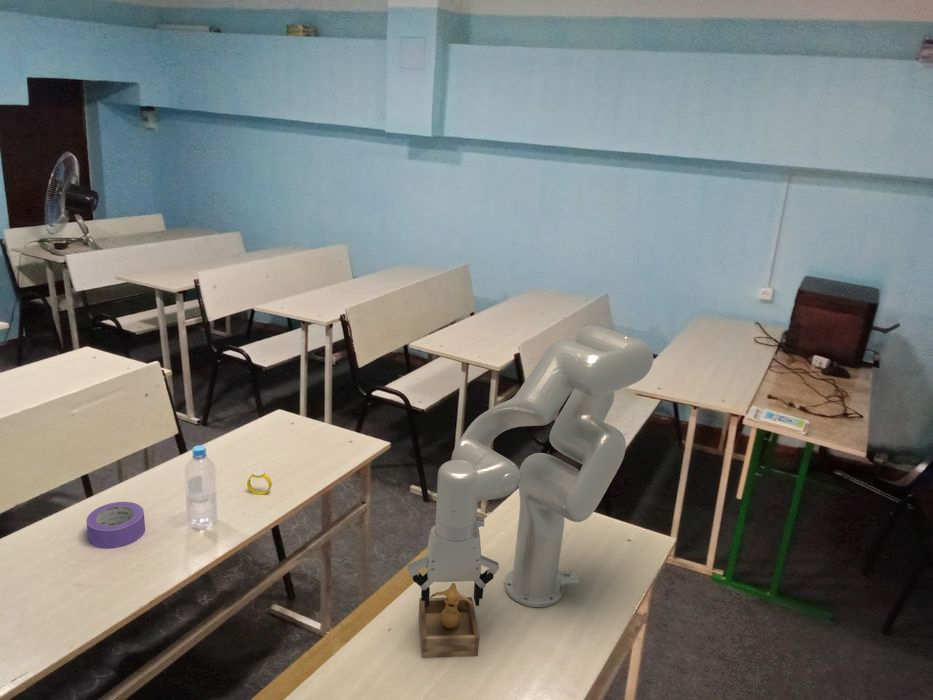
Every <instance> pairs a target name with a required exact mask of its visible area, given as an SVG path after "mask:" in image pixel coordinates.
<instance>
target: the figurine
mask: <svg viewBox="0 0 933 700" xmlns="http://www.w3.org/2000/svg"><path fill="white" fill-rule="evenodd" d="M436 596H445V597H444V598H445V603H446V605H445V609H444V610H443V611H442V613H441V615H440V620H441V623H442V625H443V626H444V627H446V628H448V629H452V628H455V627H456V626H458V624H459V623H460V619H461V616H460V613H459V611H458V610H457V605H458V604H459V601H458V600H456V598H458V597H459V598H461V599H463V600H466V601H467V602H469V603H470V604H472V606H473V605H474V602H473V603H472V602H471V601H470V600H469V599H468V598H466V597H467V596H465V595H462V593H460V592H459V591H458V590H457V585H456V584H455V582H452V583H451V585H450V586H449V588H447V589H446V590H443V591H436V592H434V593H432V594H431V595H430V597H429V598H430V599H431V598H435V597H436ZM449 603H450V604H454V605H455V606H454V607H449V605H448V604H449Z"/></svg>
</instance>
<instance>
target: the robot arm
mask: <svg viewBox="0 0 933 700" xmlns="http://www.w3.org/2000/svg"><path fill="white" fill-rule="evenodd" d="M653 362H654V352H653V350H652V349H651V347H650V345H648V343H646V342H645V341H643V340H641V339H638V338H636V337H631V336H628V335H626V334H623V333H620V332H618V331H615V330H612V329H609V328H606V327H602V326H597V325H586V326H584V327H582V328H581V329H580V330H579V331H578V333H577V334H576V338H575V341H572V340H569V339H560V340H556V341H554V342H552V343H551V344H550V345H549V347H548V348H547V350H546V351H545V352H544V354H543V355H542V357H540V359H539V360H538V362H537V364H536V365H535V367H534V368H533V369H532V370H531V372H530V374H529V375H528V377H527V378H526V379H525V381H524V382H523V383H522V385H521V387H520V388H519V390H518V391H517V392H516V394H515V395H514V396H513V397H511V398H510V399H508V400H505V401H504V402H501V403H498V404H497V405H495V406H493V407H491V408H489V409H488V410H486V411H484V412H483V413H481V414H480V415H479V416H477V417H476V418H475V419H474V420H473V421H472V422H471V423H470V425H469V426H467V428H466V430H465V431H464V433H463V435H461V437H460V438H459V440H458V442H457V444H456V445H455V447H454V449H453V451H452V453H451V459H450V460H448V461H446V462H444V463H443V464H441V465H440V467H439V468H438V469H439V470H438V473H437V484H436V485H437V487H436V488H437V489H436V507H435V509H436V510H435V511H436V512H435V524H434V525H433V526H432V527H431V529H430V532H429V536H428V543H427V548H426V549H427V550H426V556H424V557H421V558H420V559H418V560H415V561H413V562H410V563H409V564H407V572H408V573H409V575H410V577H411V578H412V580H413V582H414V583H415V584H417V586H419V587H420V589H421V594H420V598H421V601H425V607H429V598H430V597H431V595H430V594H431V591H430V586H431V585H433V584H434V583H446V582H447V583H451V582H452V583H455V582H457V583H458V582H474V584H473V599H474V600H473V601H474V604H475V606H476V607H478V606H480V600H483V597H484V589H485V587H486V586H487V584H488V583H489V582H490V581H492V580H493V579H494V576H495V575H496V574H497V572H498V571H499V570H500V565H499V562H498V561H495V560H493V559H491V558H489V557H487V556H484V555H482V547H481V535H480V533H481V532H480V529H479V528H481V527H485V519H484V518H479V517H478V504H479V502H483V501H488V500H489V501H490V500H497V499H501V498H505V497H507V496H509V495H511V494H512V493H514V492H515V490H516V489H517V488H518V494H519V515H518V523H517V531H516V542H515V552H514V560H513V570H511V571H509V573H508V574H507V575H506V576H505V578H504V579H505V580H504V589H505V591H506V593H507V595H508V596H509V597H511V599H512V600H514V601H516V602H517V603H519V604H522V605H523V606H527V607H531V608H544V607H545V608H546V607H550V606H553V605H555V604H556V603H558V602H559V601H560V600H561V598H562V596H563V592H564V587H565V586H579V585H580V578H579V576H578V575H571V571H570V569H569V570H567V569H566V570H560V569H559V566H560V559H561V552H562V543H563V535H564V529H565V519H567V520H568V521H571V522H575V523H582V522H584V521H586V520H587V519H589V518H590V517H591V516H592V515H593V513H594V512H595V510H596V509H597V507H598V506H599V504H600V502H601V501H602V499H603V497H604V495H605V493H606V492H607V490H608V488H609V486H610V484H611V483H612V481H613V479H614V477H616V474H617V472H618V470H619V469H620V467H621V464H622V462H623V460H624V457H625V453H626V449H627V448H626V447H627V446H626V445H627V444H626V443H627V442H626V438H625V436H624V434H623V433H622V432H621V431H620V429H618V428H617V427H615V426H613V425H611V424H609V423H606V422H605V419H606V418H607V416H608V413H609V412H610V410H611V407H612V406H613V403H614V400H615V392H617V391H619V390H621V389H624V388H626V387H630V386H632V385H634V384H636V383H638V382H640V381H641V380H643V379H644V378H646V376H647V375H648V374H649V373H650V371H651V368H652V366H653ZM567 398H568V399H567ZM565 402H566V403H565ZM563 405H564V406H563ZM562 407H563V408H562ZM561 408H562V409H561ZM560 409H561V411H560ZM559 411H560V413H559V414H558V412H559ZM556 415H558V416H557V418H556V420H555V422H554V423H553V426H552V428H551V430H550V432H549V443H550V444H551V446H552V447H553V448H554V449H555V450H557V452H560V453H561V454H563V455H564V456H566V457H567V458H570V459H572V460H574V461H576V462H578V463H579V464H581V465H582V466H581V468H580V470H579V469H578V468H576V467H574V466H573V465H572V464H569V463H567V462H565V461H563V460H562V459H559V458H557V457H556V456H554V455H552V454H549V453H545V452H534V453H532V454H530V455H528V456H527V457H526V458H525V459H524V460H523V461H522V463H521V465H520V466H519V467H518V465H516V463H515V462H513V461H512V460H510V459H509V458H507V457H506V456H504V455H502V454H500V453H498V452H497V451H495V450H494V449H492V448H490V447H489V446H490V444H491V443H492V442H493V441H494V440H495V439H496V438H497V437H498V436H499V435H501V434H502V433H503V432H505V431H508V430H510V429H514V428H518V427H521V428H522V427H533V426H534V427H535V426H546V425H548V424H550V423H551V422H552V421H553V420H554V419H555V417H556ZM482 566H483V567H484V568H485V567H486V568H488V569H487V570H485V571H484V572H483V573H482ZM424 568H426V571H425V572H424V573H423V574H421V573H420V572H419V571H420V570H422V569H424Z"/></svg>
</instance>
